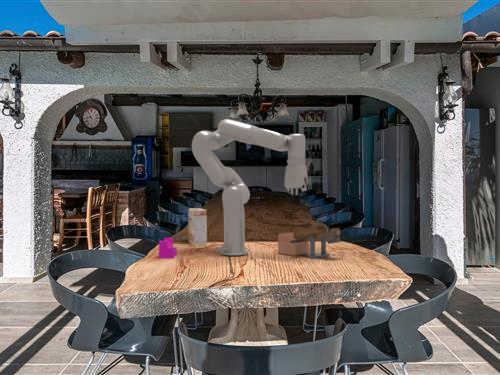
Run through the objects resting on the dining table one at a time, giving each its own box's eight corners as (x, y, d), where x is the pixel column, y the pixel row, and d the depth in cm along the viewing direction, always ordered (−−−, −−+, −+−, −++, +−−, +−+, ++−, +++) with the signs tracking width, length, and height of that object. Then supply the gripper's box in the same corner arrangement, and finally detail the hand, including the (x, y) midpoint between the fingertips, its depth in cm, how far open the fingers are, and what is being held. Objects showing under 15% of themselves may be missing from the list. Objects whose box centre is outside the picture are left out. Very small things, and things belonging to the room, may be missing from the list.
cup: (295, 256, 209) (294, 235, 209) (278, 253, 217) (278, 234, 217) (309, 253, 216) (309, 234, 216) (292, 251, 224) (292, 232, 224)
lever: (323, 244, 192) (320, 229, 193) (286, 251, 206) (284, 237, 207) (342, 241, 201) (339, 227, 202) (305, 248, 215) (303, 235, 216)
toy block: (173, 258, 206) (173, 241, 206) (159, 258, 206) (158, 241, 206) (178, 253, 221) (178, 237, 221) (165, 253, 221) (164, 237, 221)
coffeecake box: (188, 245, 250) (187, 208, 250) (201, 244, 252) (201, 208, 252) (193, 248, 236) (193, 209, 236) (207, 248, 238) (207, 209, 238)
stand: (315, 258, 201) (315, 236, 201) (306, 257, 205) (306, 235, 205) (329, 256, 208) (329, 234, 208) (320, 255, 212) (320, 234, 212)
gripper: (278, 162, 210) (278, 203, 210) (304, 161, 199) (303, 204, 199) (289, 163, 215) (289, 203, 215) (315, 162, 204) (315, 204, 204)
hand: (296, 203), depth 207 cm, fingers closed
